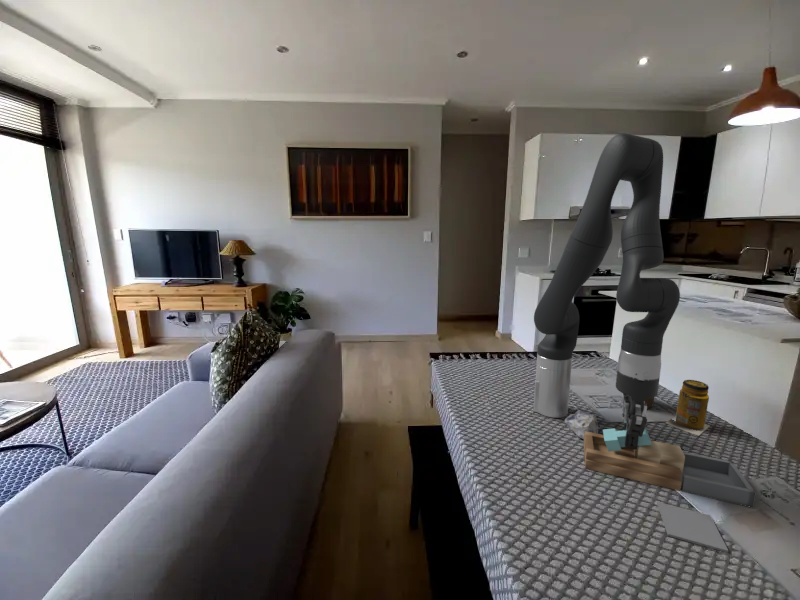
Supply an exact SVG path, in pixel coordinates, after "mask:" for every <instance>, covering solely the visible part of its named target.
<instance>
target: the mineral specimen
mask: <svg viewBox="0 0 800 600" xmlns="http://www.w3.org/2000/svg"><path fill="white" fill-rule="evenodd" d="M564 423H565V424H566V426H567V427H568V429H569V431H570V430H571V431H572V432H573V433H574V434H575V435H576V436H577V437H578V438H580V439H582V440H583V441H584V433H585V431H586V432H591V433H596V434H599V424H598V418H597V416H596V415H594V414H591V413H589V412H588V411H582V410H577V411H576V412H575V413H570V414H569V415H567V416H566V418H564Z"/></svg>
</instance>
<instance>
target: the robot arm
mask: <svg viewBox="0 0 800 600" xmlns="http://www.w3.org/2000/svg"><path fill="white" fill-rule="evenodd" d="M596 163H597V164H596V167H595V168H594V169H595V170H594V173H593V176H592V180H591V183H590V186H589V189H588V192H587V195H586V198H585V200H584V202H583V205H582V208H581V209H580V213H579V215H578V218H577V220H576V222H575V224H574V227H573V229H572V231H571V233H570V235H569V238H568V240H567V242H566V244H565V247H564V250H563V252H562V256H561V257H560V260H559V263H558V264H557V266H556V269H555V271H554V273H553V276H552V278H551V280H550V282H549V284H548V286H547V288H546V290H545V292H544V293H543V295H542V296H541V298H540V300H539V302H538V304H537V306H536V308H535V310H534V315H533V323H534V326H535V328H536V329H537V331H538V332H540V333H542V334H543V335H544V337H543V338H542V339H541V341H539V343H538V345H537V352H536V370H535V380H534V394H533V409H532V410H533V412H535V413H538V414H540V415H542V416H544V417H549V418H554V419H557V418H559V419H560V418H564V417H567V416H568V413H569V404H570V403H569V402H570V390H571V377H572V376H571V375H572V364H573V353H574V350H575V349H576V346H577V342H578V336H579V335H578V334H579V329H580V328H579V327H580V312H579V309H578V307H577V306H576V304H575V303H574V302H573V299H574V298H575V295H576V294H577V293H578V291H579V290H580V289H581V288H582V287H583V285H584V284H585V283H586V282H587V281H588V280H589V279H590V278H591V276H593V274H594V273H595V272H596V271H597V270H598V268H599V267H600V265H601V263H602V261H603V260H604V258H605V256H606V254H607V251H608V250H609V247H610V246H611V243H612V240H613V235H614V234H613V233H614V232H613V231H614V230H613V221H612V220H613V218H612V212H611V211H612V209H611V208H612V201H613V199H614V196H615V195H614V194H615V192H616V190H617V187H618V185H619V183H620V181H624V182H629V183H630V185H631V189H632V194H633V200H632V203H631V204H632V205H631V207H630V209H629V210H628V213H627V214H626V216H625V219H624V220H623V223H622V225H621V226H622V227H621V232H620V244H621V253H622V264H621V273H620V276H619V281H618V285H617V290H616V294H615V295H616V296H615V297H616V302H617V304H618V306H619V307H620V308H621V309H622V310H623V311H625V312H629V313H646V315H645V317H644V318H642V319H639V320H635V321H630V322H627V323H626V324H624V325H623V329H622V334H621V335H622V336H621V344H620V351H619V354H618V360H617V370H616V380H615V381H616V382H615V388H616V390H617V391H619V392H620V393H621V394H622V414H621V415H622V417H623V420H622V421H623V425H624V426H623V430H626V438H625V447H626V448H628V449H633V450H636V449H637V446H638V437H639V436H640V437H642V435H643V432H644V428H646V425H647V422H648V418H647V416H646V413H647V411H648V410H647V404H645V399H648V398H654V399H655V397H657V396H658V393H659V385H660V376H661V369H662V351H663V350H662V349H663V342H664V336H665V333H666V331H667V330H668V329H667V328H668V327H669V325H670V322H671V321H672V318H673V316H674V314H675V312H676V310H677V308H678V306H679V304H680V299H681V292H680V288H679V286H678V284H677V282H675V280H673V279H671V278H665V277H664V278H663V277H641V271H646V270H651V269H654V268H657V267H659V266H661V265H662V264H663V262H664V247H663V240H662V233H661V232H662V231H661V222H660V221H661V219H660V211H661V210H660V209H661V195H662V185H663V182H662V181H663V169H664V151H663V147H662V145H661V143H660V142H659V141H657V140H655V139H652V138H649V137H644V136H640V135H636V134H631V133H626V132H625V133H617V134H615V135H614V136H613V137H611V139H610V140H608V142H607V144H606V145H605V146H604V148H603V150H602V152H601V154H600V156H599V159H598V161H597V162H596Z"/></svg>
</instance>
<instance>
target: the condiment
mask: <svg viewBox="0 0 800 600" xmlns="http://www.w3.org/2000/svg"><path fill="white" fill-rule="evenodd" d="M708 393H709V385H708V384H707V383H705V382H702V381H700V380H695V379H685V380H683V382H682V386H681V388H680V390H679V394H678V402H677V407H676V413H675V414H676V415H675V416H674V417H676V422H673V421H674V420H672V418H670V419H669V420H668V421H666V422H665V424H667V425H669V426H671V427H675V428H676V429H678V430H681V431H684V432H687V433H689V434H692V435H695V436H698V437H699V436H700V435H702V434H703V433H704V432H705V431H706V430H708V428H710V427H711V424H710V425H709V424H707V423H706V418H707V412H708V411H707V410H708V404H709V401H710V396H709V394H708ZM692 429H693V430H692ZM696 430H697V431H696Z"/></svg>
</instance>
